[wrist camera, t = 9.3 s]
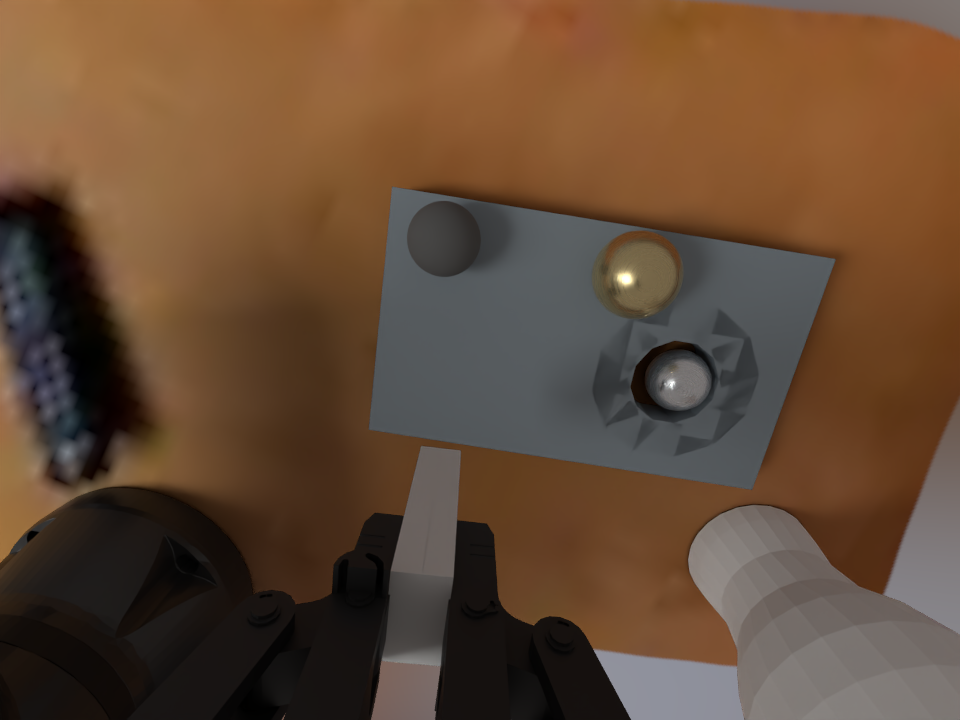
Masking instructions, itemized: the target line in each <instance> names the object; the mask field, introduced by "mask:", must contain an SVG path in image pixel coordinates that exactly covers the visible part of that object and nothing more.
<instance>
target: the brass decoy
mask: <svg viewBox="0 0 960 720" xmlns="http://www.w3.org/2000/svg"><path fill="white" fill-rule="evenodd" d="M683 274H684V271H683V263H682V260H681V257H680V254H679V252H678V251H677V249H676V248H675V246H674V245H673V244H672V243H671V242H670V241H669V240H667V239H666V238H665V237H663V236H661V235H659V234H656V233H654V232H649V231H642V230H640V231H631V232H627V233H623V234H621V235H619V236H617V237H615V238H613V239H612V240H611V241H609V242H608V243H607V244H606V245H605V246H604V247H603V248H602V249H601V251H600V252H599V254H598V255H597V257H596V259H595V262H594V265H593V268H592V286H593V290H594V293H595V295H596V297H597V299H598V300H599V302H600V303H601V304H602V305H603V306H604V307H605V308H606V309H607V310H608V311H610V312H611V313H613V314H615V315H617V316H620V317H623V318H627V319H642V318H647V317H651V316H653V315H656V314H658V313H659V312H661V311H663V310H664V309H665V308H667V307H668V306H669V305H670V304H671V303H672V302H673V300H674V299H675V298H676V296H677V295H678V293H679V291H680V288H681V286H682V282H683Z"/></svg>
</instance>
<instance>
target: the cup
mask: <svg viewBox="0 0 960 720" xmlns="http://www.w3.org/2000/svg"><path fill="white" fill-rule="evenodd" d="M688 563H689V572H690V574H691V576H692V578H693V581H694V583H695V584H696V586H697V587H698V588H699V590H700V591H701V592H702V594H703V595H704V597H705V598H706V599H707V600H708V601H709V603H710V604H711V605H712V606H713V607H714V609H715V610H716V611H717V612H718V613H719V614H720V616H721V617H722V618H723V619H724V620H725V622H726V623H727V625H728V628H729V630H730V633H731V635H732V638H733V640H734V643H735V645H736V647H737V650H738V663H737V676H738V688H739V697H740V701H741V706H742V710H743V715H744V720H960V635H959V634H958V633H956V632H954V631H953V630H951V629H949V628H947V627H945V626H944V625H942V624H940V623H938V622H937V621H935V620H933V619H931V618H929V617H928V616H926V615H924V614H922V613H921V612H919V611H917V610H915V609H913V608H912V607H910V606H908V605H906V604H905V603H902V602H901V601H898V600H895V599H892V598H889V597H887V596H884V595H881V594H878V593H876V592H873V591H870V590H867V589H864V588H862V587H859V586H858V585H856V584H855V583H854V582H853V581H851V580H850V579H849V578H847V577H846V576H845V575H843V574H842V573H841V572H840V571H838V570H837V569H836V568H834V567H833V566H832V565H831V564H830V562H829V561H828V560H827V558H826V557H825V555H824V554H823V552H822V551H821V549H820V548H819V546H818V545H817V543H816V542H815V541H814V540H813V538H812V537H811V536H810V535H809V533H808V532H807V531H806V529H805V528H804V527H803V526H802V525H801V523H800V522H799V521H798V520H797V519H796V518H795V517H793V516H792V515H790V514H789V513H787V512H786V511H784V510H781V509H778V508H774V507H771V506H762V505H750V506H744V507H738V508H735V509H732V510H730V511H727V512H724V513H722V514H720V515H719V516H717V517H716V518H714V519H713V520H711V521H710V522H708V523H707V524H706V525H705V526H704V527H703V529H702V530H701V531H700V532H699V533H698V534H697V536H696V538H695V540H694V541H693V543H692V545H691V548H690V553H689V558H688Z"/></svg>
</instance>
